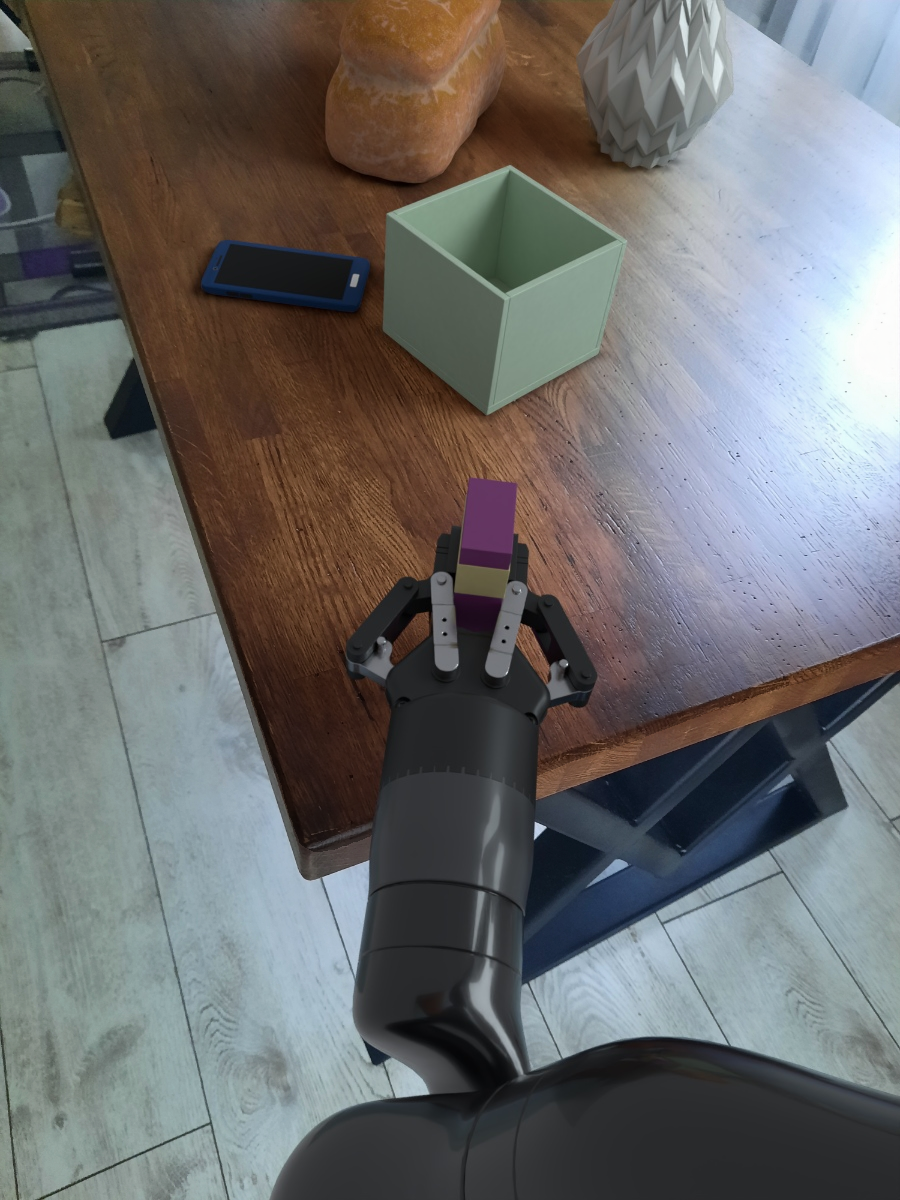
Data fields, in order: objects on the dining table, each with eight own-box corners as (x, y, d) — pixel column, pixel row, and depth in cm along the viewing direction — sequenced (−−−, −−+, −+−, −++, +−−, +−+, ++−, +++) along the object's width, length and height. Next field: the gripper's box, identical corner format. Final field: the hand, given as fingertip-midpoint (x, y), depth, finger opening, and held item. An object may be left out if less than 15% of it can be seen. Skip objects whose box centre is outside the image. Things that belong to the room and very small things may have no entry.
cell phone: (358, 314, 80) (358, 306, 79) (198, 292, 80) (197, 285, 79) (371, 265, 85) (371, 258, 84) (219, 245, 84) (219, 237, 84)
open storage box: (494, 278, 85) (510, 164, 77) (598, 354, 80) (628, 240, 71) (382, 330, 79) (385, 213, 71) (486, 415, 74) (504, 300, 65)
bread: (312, 166, 94) (306, -1, 82) (402, 63, 110) (408, -90, 97) (437, 199, 92) (450, 33, 80) (511, 90, 108) (531, -63, 96)
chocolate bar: (451, 608, 59) (468, 476, 50) (493, 613, 59) (518, 482, 50) (443, 675, 56) (459, 548, 46) (487, 681, 56) (513, 554, 46)
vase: (532, 137, 101) (562, -59, 87) (633, 101, 109) (677, -86, 94) (640, 207, 95) (692, 6, 80) (740, 163, 102) (805, -28, 87)
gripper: (620, 798, 41) (615, 509, 51) (304, 759, 41) (364, 478, 51) (586, 862, 47) (589, 591, 57) (312, 828, 47) (364, 563, 57)
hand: (482, 539), depth 54 cm, fingers closed on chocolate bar, 2 cm apart
